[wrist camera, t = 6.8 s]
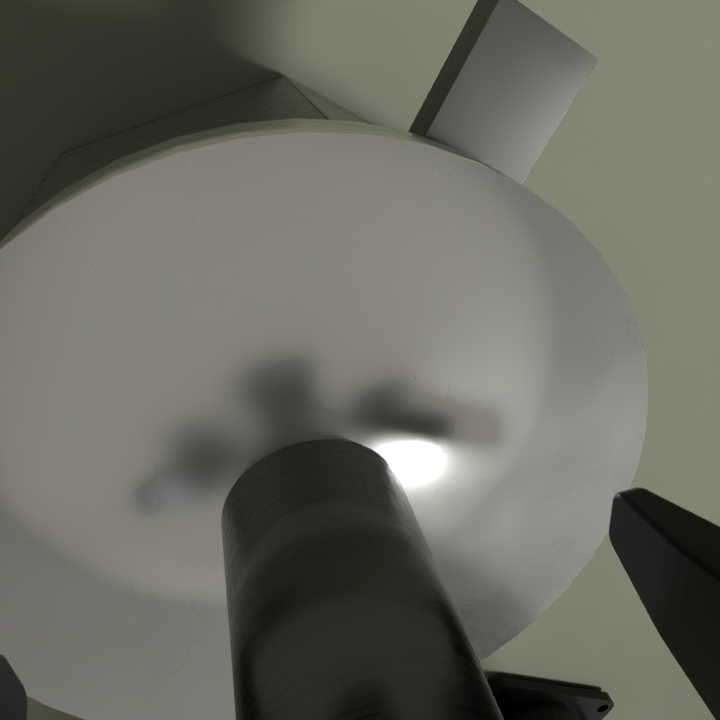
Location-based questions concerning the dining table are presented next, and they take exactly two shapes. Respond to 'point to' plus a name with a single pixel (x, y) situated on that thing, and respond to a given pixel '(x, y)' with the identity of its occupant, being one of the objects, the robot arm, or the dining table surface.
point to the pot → (434, 120)
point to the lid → (300, 426)
